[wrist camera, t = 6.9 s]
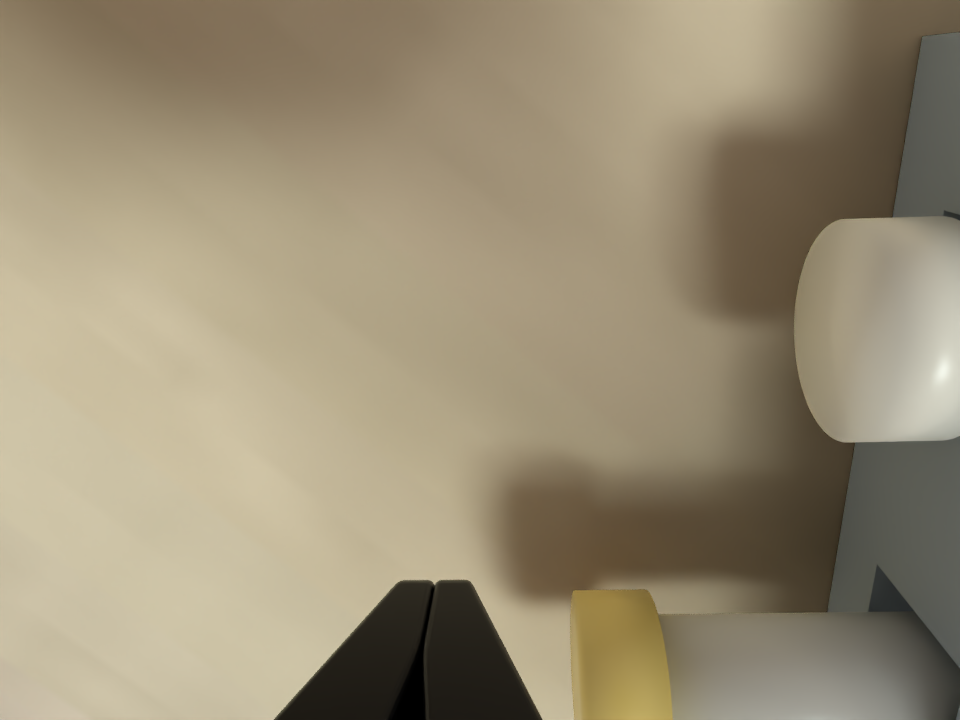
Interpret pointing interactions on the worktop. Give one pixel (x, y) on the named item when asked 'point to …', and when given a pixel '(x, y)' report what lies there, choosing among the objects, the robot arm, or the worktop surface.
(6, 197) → the worktop surface
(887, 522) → the mount
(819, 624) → the yellow capped tube
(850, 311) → the knob
